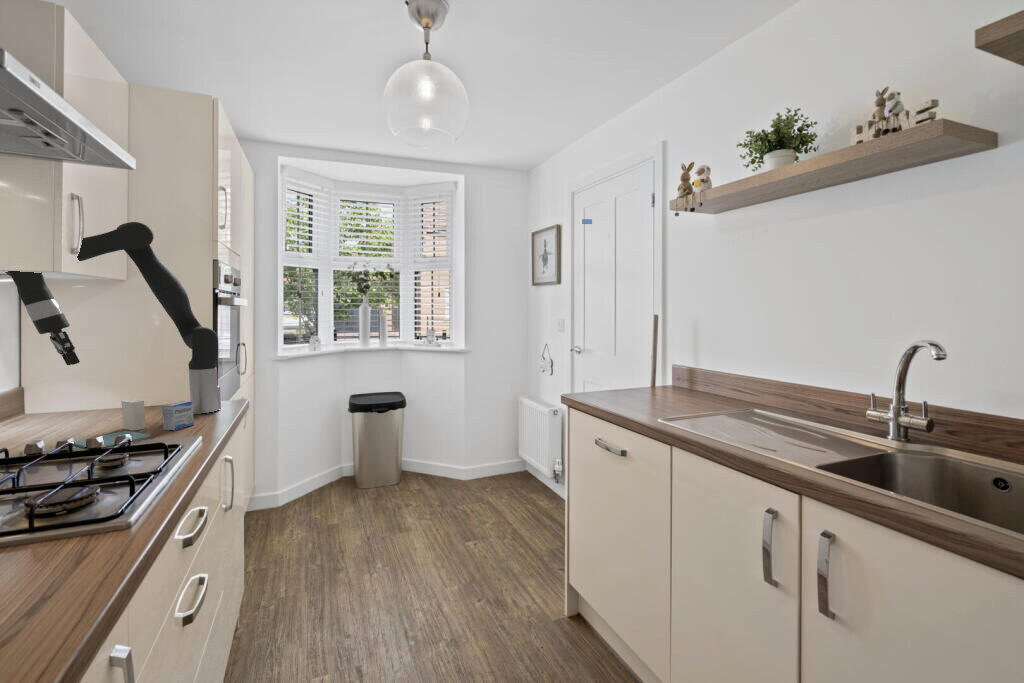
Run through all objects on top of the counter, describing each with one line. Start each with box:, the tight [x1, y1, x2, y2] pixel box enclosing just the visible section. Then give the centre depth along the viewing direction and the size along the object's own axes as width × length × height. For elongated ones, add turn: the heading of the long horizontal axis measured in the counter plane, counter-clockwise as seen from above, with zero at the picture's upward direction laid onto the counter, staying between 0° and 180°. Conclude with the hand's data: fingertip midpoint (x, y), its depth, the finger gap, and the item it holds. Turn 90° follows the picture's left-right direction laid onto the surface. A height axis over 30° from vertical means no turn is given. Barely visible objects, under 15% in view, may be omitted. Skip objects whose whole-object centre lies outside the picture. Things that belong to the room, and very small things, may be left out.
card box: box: [121, 398, 147, 432], centre depth 165 cm, size 4×6×10 cm, turn 64°
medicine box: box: [161, 400, 194, 432], centre depth 165 cm, size 8×4×9 cm, turn 168°
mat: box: [72, 429, 152, 449], centre depth 150 cm, size 15×14×1 cm
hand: (73, 364), depth 154 cm, fingers open, 8 cm apart
